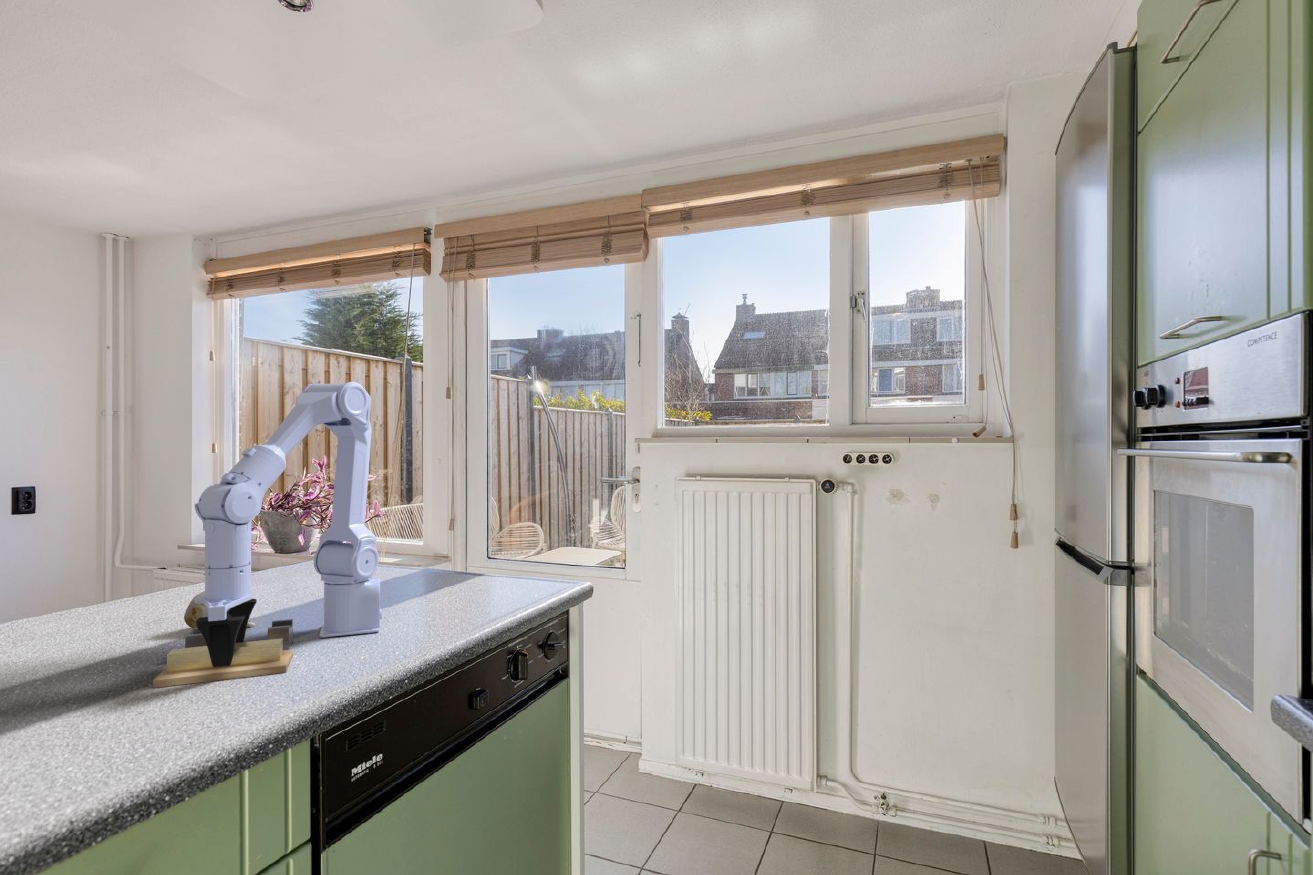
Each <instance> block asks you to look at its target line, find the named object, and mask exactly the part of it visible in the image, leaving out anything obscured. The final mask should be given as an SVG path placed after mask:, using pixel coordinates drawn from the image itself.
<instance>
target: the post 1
mask: <svg viewBox="0 0 1313 875" xmlns="http://www.w3.org/2000/svg"><path fill="white" fill-rule="evenodd" d="M184 642H185V643H184V645H185V646H184V648H191V647H201V646H207V644H206V641H205V639H204V637H203V635H202V633H201V632H200V631H199V629H198V628H194V629H192V634H187V635H186V636H185V641H184Z"/></svg>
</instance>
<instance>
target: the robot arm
mask: <svg viewBox="0 0 1313 875" xmlns="http://www.w3.org/2000/svg"><path fill="white" fill-rule="evenodd" d="M295 402H296V403H295V405H294V407H293V408H292V409H291V411H290V412H289V413H288V414H287V415H286V417H285V418H284V419H283V421H282V422H281V423H280V425H279V426H278V427H277V428H276V430H275V431H274V432H273V434H272V435H271V436H270V437H269V438H268V440H267V441H266V442H265V444H257V445H256V444H255V445H253V446H251V447H246V448H245V449H244V450H243V451H242V453H241V455H242V457H241V458H240V459H239V461H237V463H236V464H235V465H234V466H232V468H231V469H230V470H229V471H228V472H226V473H224V474H223V475H222V476H221V477H220V478H221V480H220V481H219V483H215V484H213V485H210V486H208V487H206V488H205V489H204V490H203V492H202V493H201V495H200V496H199V498H198V502H197V503H195V504H194V510H195V513H196V515H197V517H198V518H199V519H200V520H201V521H202V522H201V523H202V531H204V591H205V596H198V597H196V598H195V603H203V604H204V605H205V606H206V607H207V608H208V617H200V618H198V619H197V620H196V626H197V628H198V629H199V631H200V632H201V633H202V635H203V637H204V639H205V641H206V644H207V647H208V651H209V655H210V659H211V663H212V665H213V667H223V666H230V665H231V662H232V659H233V655H234V649H235V643H241V642H245V638H246V632H247V627H248V626H247V624H248V620H249V621H250V619H249V617H251V614H252V612H253V610H254V608H255V606H256V604H257V602H258V601H257V598H254V597H253V591H252V520H254V519H255V518H256V517H257V516H259V514H260V512H261V510H262V506H263V499H264V497H265V496H266V492H267V491H268V490H269V489H271V488H270V487H272V486H273V484H274V483H275V482H276V480H277V479H279V477H280V476H281V475H282V473H283V472H284V471H285V470H286V468H287V460H286V457H287V456H288V455H289V454H290V453H291V452H292V450H294V449H295V448H296V447H297V445H299V443H301V442H302V441H303V439H305V438H306V437H307V435H308V434H309V433H311V432H312V431H313V429H314V428H315V427H317V426H319V425H322V426H324V427H325V428H327V429H329V430H330V432H332V433H333V435H334V436H335V437H336V438H337V448H336V461H335V472H334V474H335V475H334V484H333V485H334V486H333V498H332V510H331V523H330V526H329V527H328V528H327V529H326V530H325V531H323V533H322V534H320V536H319V542H318V547H317V548H316V550H315V553H314V556H313V566H314V570H315V572H316V573H317V574H318V575H320V581H322V582H323V624H322V626H321V629H320V632H319V638H330V637H338V636H340V637H341V636H349V635H360V634H367V633H368V634H370V633H379V632H380V631H381V630H380V628H381V627H380V625H381V620H382V619H383V611H382V610H383V609H382V608H381V578H372V576H373V575H374V574H375V572H376V571H377V569H378V566H379V559H380V557H379V552H378V549H377V536H376V535H375V534H374V533H373V532H372V531H371V530H369V528H367V526H366V513H367V501H368V500H367V499H368V485H369V474H370V473H369V472H370V471H369V470H370V461H371V444H372V431H373V430H372V429H373V428H372V424H371V408H372V397H371V396H370V393H368V391H367V390H366V389H365V388H364V387H363V386H362V385H361V384H360V383H358V382H356V381H348V382H344V383H341V382H340V383H339V382H338V383H335V382H334V383H319V382H318V383H317V382H316V383H310V384H308V385H306V387H304V389H303V391H302V392H300V393H299V394H298V395H297V396H296V398H295Z"/></svg>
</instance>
